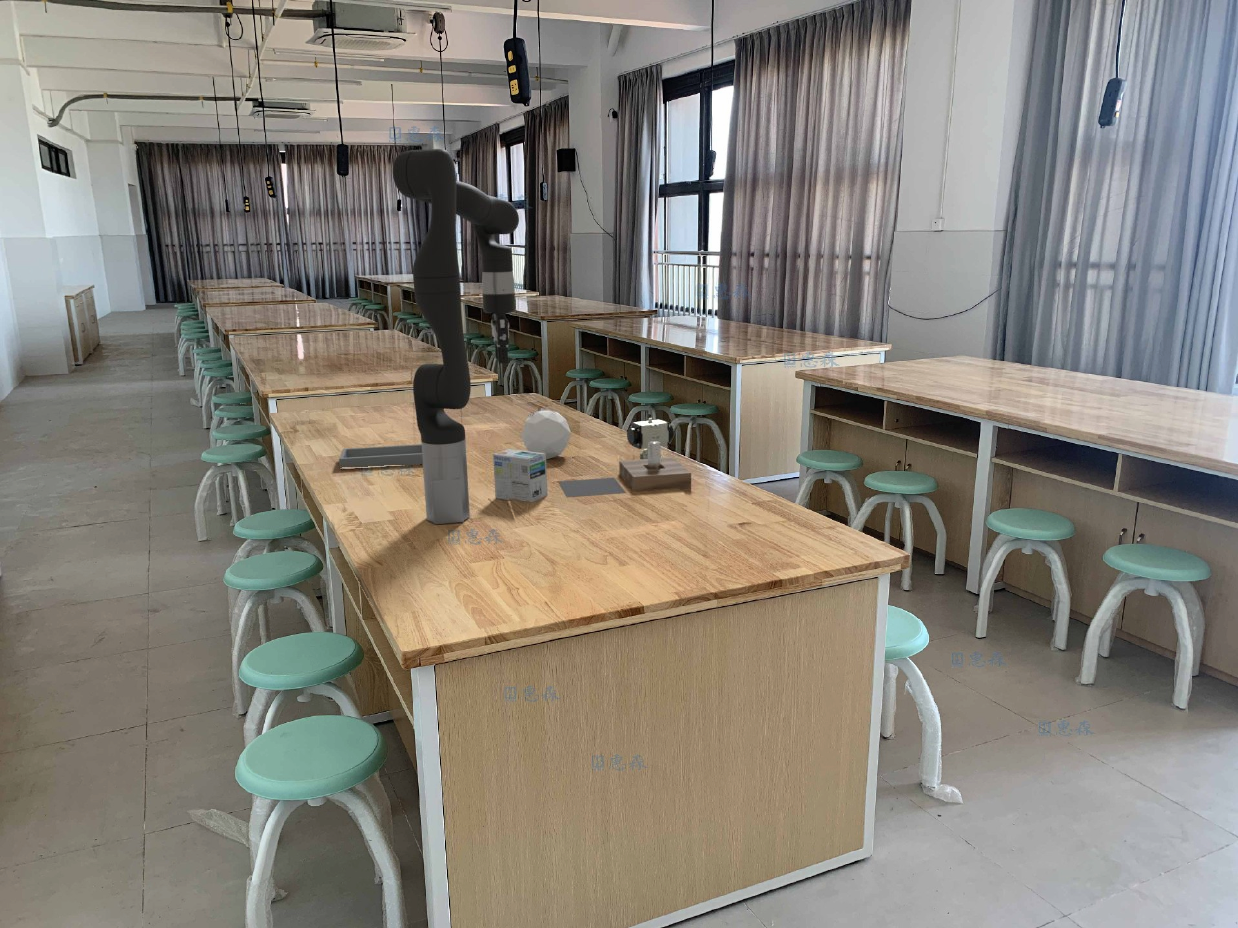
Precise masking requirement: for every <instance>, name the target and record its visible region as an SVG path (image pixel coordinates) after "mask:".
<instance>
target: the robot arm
mask: <svg viewBox="0 0 1238 928" xmlns="http://www.w3.org/2000/svg"><path fill="white" fill-rule="evenodd" d="M392 165H393V166H392V179H393V182H394V185H395V187H396V189H397V190H398V192H399V193H400V194H402V195H403V196H404V197H406V198H409V199H413V200H417V201H422V202H425V203H429V204H430V205H431V210H430V211H431V213H430V223H429V227H428V231H427V233H426V236H425V237H424V239H423V242H422V243H421V246H420V248H419V249H418V252H417V254H416V256H415V259H414V262H413V266H412V279H413V280H412V281H413V292H414V293H413V295H414V300H415V303H416V306H417V308H418V309H419V311H420V314H421V315H422V316H423V318H424V320H425V321H426V323H427V325H428V326H429V327H430V328H431V331H432V333H434V335H435V337H436V339H437V341H438V344H439V348H440V352H441V356H442V364H441V363H424V364H421V365H420V366H418V367H417V369H416V371H415V373H414V376H413V381H412V390H413V391H412V392H413V400H414V407H415V416H416V425H417V429H418V431H419V433H420V441H421V443H420V444H422V459H423V465H422V473H423V484H424V485H423V486H424V501H425V510H426V511H425V512H426V515H425V516H426V520H427V521H428V522H430V523H433V524H434V525H440V524H441V525H442V524H443V525H444V524H454V523H455V524H456V523H464V521H465V520H467V519H469V518H470V517H471V512H470V495H469V479H468V478H469V477H468V460H467V443H466V441H467V440H466V439H467V438H466V429H465V426H464V425H463V424H462V423H460V422H458V421H456V420H454V419H452V418H451V417H450V416H449V415H448V414H447V413H446V412H445V410H461V409H464V408H465V407H466V406H467V405H468V403H469V401H470V398H471V397H470V396H471V391H472V390H471V387H472V383H471V377H470V376H471V374H470V369H469V368H470V366H469V360H468V355H467V354H468V353H467V347H466V343H465V336H464V334H465V333H464V325H463V315H462V313H463V312H462V295H461V294H462V293H461V292H462V291H461V277H460V267H459V258H458V255H459V254H458V243H457V239H458V238H457V216H459V217H461V218H462V219H464V220H465V221H468V222H469V223H470V224H472V226H473V230H474V233H475V237H476V240H477V243H478V247H479V250H480V254H481V270H482V274H481V275H482V277H481V278H482V279H481V290H482V291H481V293H482V309H483V312H484V313H486V314H492V316H491V320H490V326H491V334H492V338H493V343H494V354H495V359H497V360H498V361H497V362H498V363H499V364H508V363H509V351H508V347H509V346H510V345H509V344H510V341H509V339H510V330H509V329H510V321H509V320H508V319H507V318H506V314H508V313H509V314H510V313H514V312H516V294H515V293H516V288H515V287H516V286H515V278H514V272H513V271H514V270H513V269H514V268H513V266H514V265H513V263H514V262H513V251H512V249H511V247H509V246H508V245H503V244H500V243H498V242H497V241H496V239H495V238H494V235H510V234H513V232H515V231H516V230H517V228H518V226H519V223H520V216H519V213H518V210H517V208H516V207H515V206H514V204H513V203H511V202H510V201H507V200H505V199H502V198H498V197H495V196H492V195H491V196H490V195H488V194H486V192H484V191H483V190H480V189H479V188H478V187H476V186H473V185H472V184H469V183H466V182H462V181H459V180H457V174H456V166H455V163H454V160H453V156H451V154H450V153H449V152H448V150H446V149H443V148H431V149H430V148H428V149H414V150H413V149H412V150H406V151H402V152H400V153H398V155H397V156H396V157H395V159H394V161H393V164H392Z"/></svg>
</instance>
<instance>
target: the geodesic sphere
mask: <svg viewBox="0 0 1238 928" xmlns="http://www.w3.org/2000/svg"><path fill="white" fill-rule="evenodd" d="M571 434H572V433H571V429H570V425H569V424H568V420H567V419H566V418H565V417H564V416H562V415H561V414H560V413H559V412H557V411H553V410H552V409H548V408H543V407H541V408H540V410H539V411H533V412H532V411H531V412H530V413H529V415H528V418H527V419H526V420H525V421H524V425H523V427H522V430H521V433H520V438H521V439H522V442H523V445H524V447H525V450H526V451H530V452H539V453H546V460H549V459H552V458H556V457H558V456H561V455H562V453H563V452H564V451H565V449H566V448H567V446H568V445H569V441H570V438H571Z"/></svg>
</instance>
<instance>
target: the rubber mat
mask: <svg viewBox="0 0 1238 928" xmlns="http://www.w3.org/2000/svg"><path fill="white" fill-rule="evenodd" d="M557 482H558V484H559V487H560V488H561V489H562V491H563V493H564V494H565V495H564V496H565V497H566V498H575V497H590V496H602V495H616V494H617V495H619V494H626V493H627V491H626V490H625V489H624V488H623V486H621V485H620V483H619V482H618V480H617V479H616V478H615V477H602V478H587V479H573V480H559V481H557Z"/></svg>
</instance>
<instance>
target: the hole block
mask: <svg viewBox="0 0 1238 928" xmlns="http://www.w3.org/2000/svg"><path fill="white" fill-rule="evenodd" d="M618 467H619V469H618V470H619V473H618V474H619V475H620V477H621V478H622V479H623V481H624V482H625V483H626V484H627V485H628V487H629V488H630V489H631V490H632V491H633V492H642V491H653V490H656V491H657V490H665V489H666V490H667V489H668V490H669V489H680V491H683V490H684V491H685V490H686V491H687V490H692V472H691V471H690V470H689V469H688V468H687V467H685V466H684V465H683V464H681V463H680V462H679V461H678V460H677V459H676V458H674V457H673V456H672V457H661V458H660V469H649V470H648V459H640V458H639V459H626V460H619V461H618Z"/></svg>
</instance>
